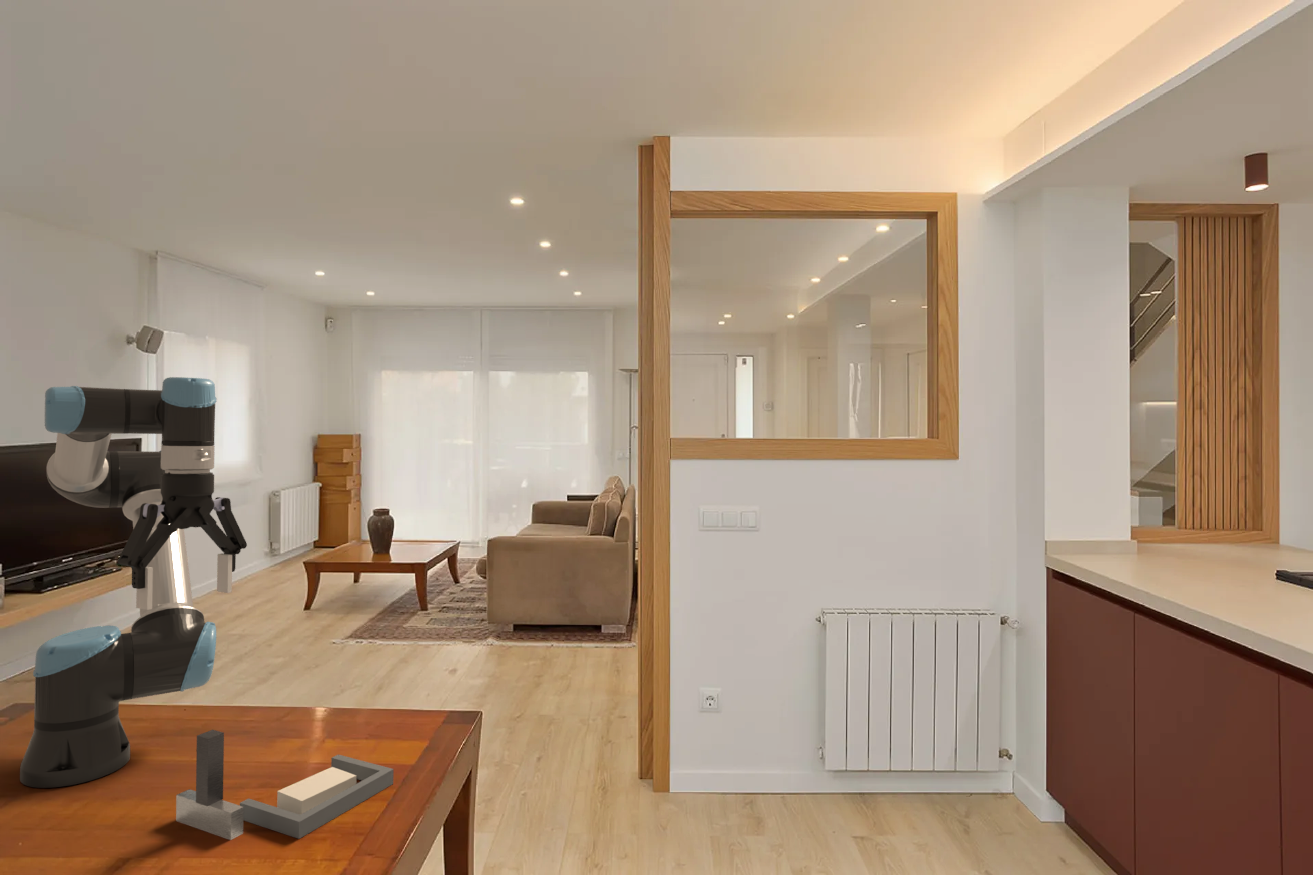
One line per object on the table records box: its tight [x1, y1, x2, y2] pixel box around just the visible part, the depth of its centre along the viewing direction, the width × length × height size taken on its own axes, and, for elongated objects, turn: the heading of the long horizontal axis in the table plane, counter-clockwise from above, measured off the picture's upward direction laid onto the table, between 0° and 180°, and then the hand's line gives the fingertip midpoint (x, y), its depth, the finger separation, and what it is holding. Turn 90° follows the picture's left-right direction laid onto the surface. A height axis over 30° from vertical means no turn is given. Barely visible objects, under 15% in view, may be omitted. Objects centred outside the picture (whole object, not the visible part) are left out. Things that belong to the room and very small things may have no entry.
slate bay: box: [239, 754, 395, 840], centre depth 122 cm, size 12×19×2 cm, turn 156°
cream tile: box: [276, 766, 357, 815], centre depth 122 cm, size 6×10×3 cm, turn 151°
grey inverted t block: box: [175, 729, 244, 841], centre depth 113 cm, size 12×2×14 cm, turn 66°
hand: (186, 599), depth 126 cm, fingers open, 13 cm apart
